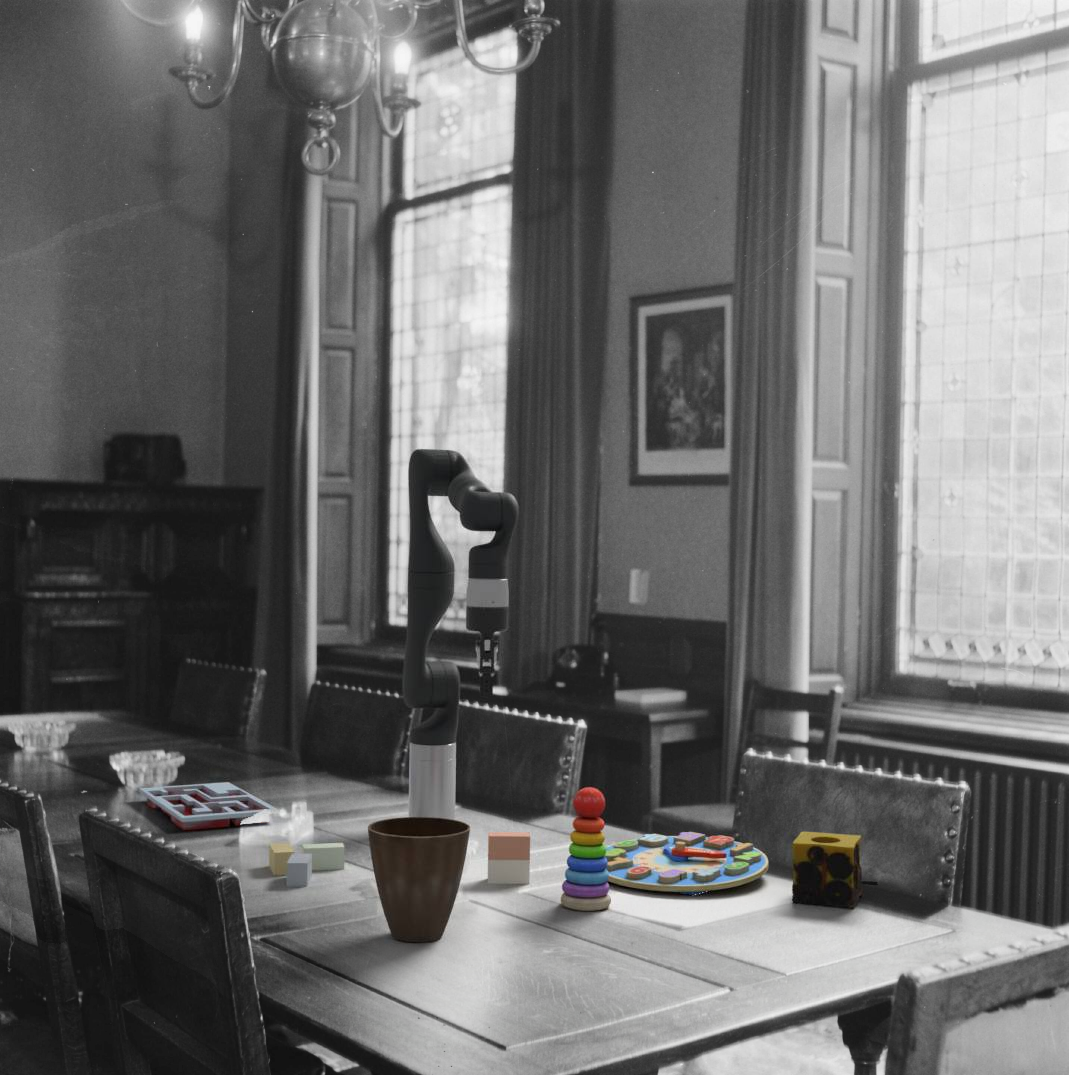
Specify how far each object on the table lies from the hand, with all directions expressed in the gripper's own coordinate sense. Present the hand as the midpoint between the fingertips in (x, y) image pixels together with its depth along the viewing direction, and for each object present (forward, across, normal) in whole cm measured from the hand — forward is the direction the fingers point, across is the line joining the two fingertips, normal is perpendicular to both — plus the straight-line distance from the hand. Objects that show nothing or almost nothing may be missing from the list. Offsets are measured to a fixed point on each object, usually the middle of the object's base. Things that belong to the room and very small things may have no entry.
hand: (486, 695), depth 252 cm
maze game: (+31, +45, +57) cm, 79 cm away
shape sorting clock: (+31, -7, -34) cm, 46 cm away
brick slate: (+30, -13, +31) cm, 45 cm away
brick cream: (+30, -12, -4) cm, 33 cm away
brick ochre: (+30, -5, +35) cm, 47 cm away
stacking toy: (+30, -28, -16) cm, 44 cm away
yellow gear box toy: (+30, -23, -56) cm, 68 cm away
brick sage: (+30, -3, +28) cm, 41 cm away
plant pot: (+30, -45, +10) cm, 55 cm away
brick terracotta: (+26, -12, -4) cm, 29 cm away
